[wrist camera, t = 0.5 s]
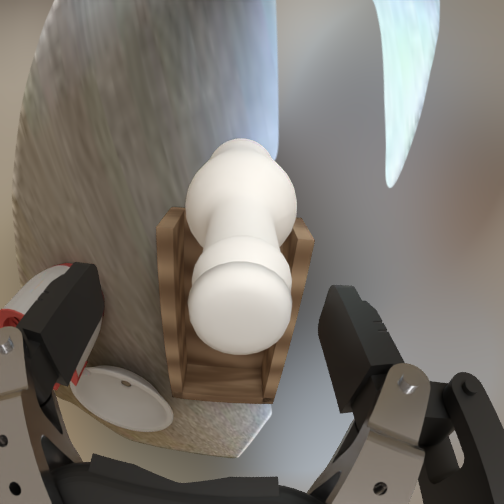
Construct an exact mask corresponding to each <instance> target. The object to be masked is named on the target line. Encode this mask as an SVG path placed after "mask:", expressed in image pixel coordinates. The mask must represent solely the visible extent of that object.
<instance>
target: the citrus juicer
mask: <svg viewBox="0 0 504 504" xmlns="http://www.w3.org/2000/svg"><path fill="white" fill-rule="evenodd" d="M71 265H72V264H71V263H64V264H59V265H54V266H52V267H50V268H48V269H46V270H44V271H42V272H41V273H39V274H37V275H36V276H34V277H33V278H32V279H31V280H29V281H28V282H27V283H26V284H25V285H24V286H23V287H22V288H21V289H20V291H19V292H18V293H17V294H16V295H15V296H14V297H13V298H12V299H11V300H10V301H9V302H8V303H7V305H6V306H5V307H4V308H3V309H1V310H0V328H3V327H7V326H12V327H16V326H17V324H18V323H19V322H20V320H21V319H22V318H23V316H24V315H25V314H26V312H27V311H28V310H29V308H30V307H31V306H32V305H33V303H34V302H35V301H36V300H38V297H39V296H40V295H41V293H43V292H44V290H45V288H46V287H47V286H48V285H49V284H50V283H51V281H53V280H54V279H56V278H58V277H59V276H61V275H62V274H65V272H66V271H67V270H68V269H69V268H70V267H71ZM102 295H103V293H102ZM103 299H104V296H103ZM103 314H104V312H103ZM102 318H103V316H102ZM102 318H101V320H100V322H99V324H98V326H97V327H96V329H95V331H94V333H93V335H92V337H91V339H90V341H89V343H88V345H87V347H86V349H85V351H84V353H83V355H82V357H81V359H80V361H79V363H78V366H77V368H76V370H75V372H74V374H73V376H72V379H71V381H72V383H73V384H74V385H75V386H77V384H78V381H79V379H80V377H81V376H84V375H86V376H89V375H90V374H91V372H89V371H88V370H87V369H85V366H86V364H87V362H88V361H86V360H87V358H88V356H89V354H90V352H91V350H92V348H93V346H94V344H95V341H96V339H97V337H98V334H99V331H100V328H101V324H102ZM59 386H60V384H58V383H55V385H54V388H53V389H55V390H57V389H58V387H59Z"/></svg>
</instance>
